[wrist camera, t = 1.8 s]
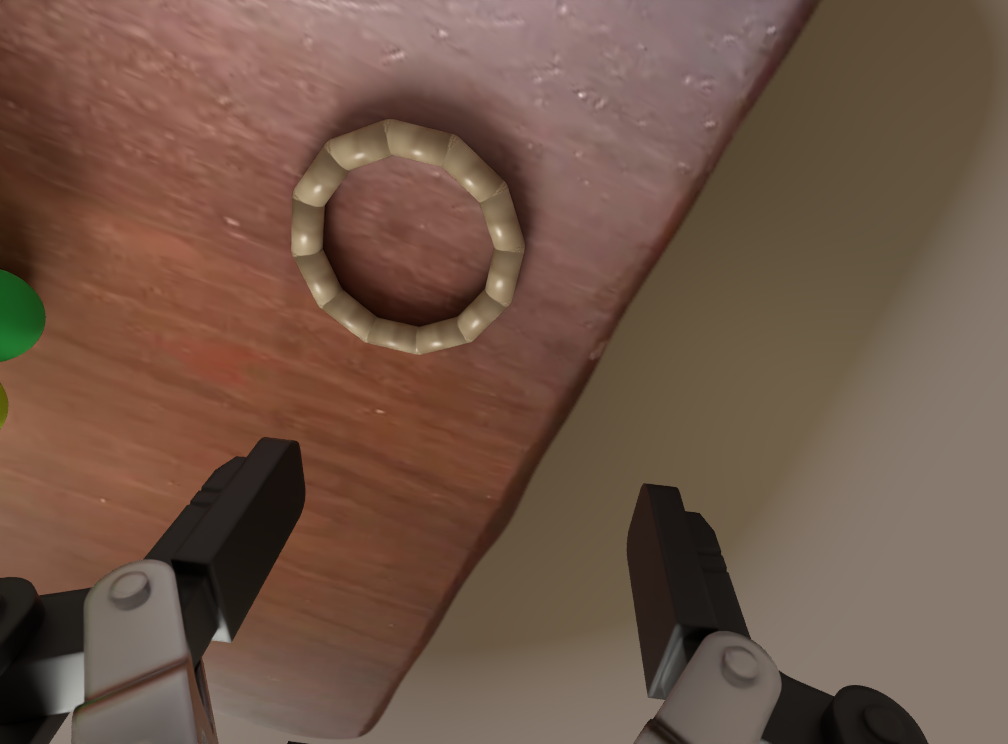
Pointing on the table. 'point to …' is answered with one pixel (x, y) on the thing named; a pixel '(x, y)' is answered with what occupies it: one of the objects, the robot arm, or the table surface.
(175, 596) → the robot arm
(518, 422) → the table surface
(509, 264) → the ring
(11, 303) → the molecule model
